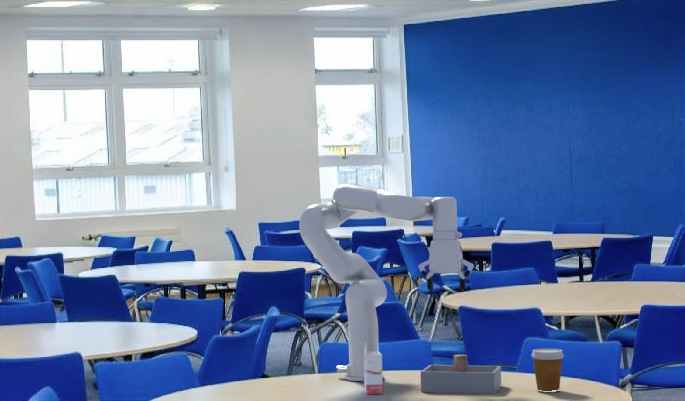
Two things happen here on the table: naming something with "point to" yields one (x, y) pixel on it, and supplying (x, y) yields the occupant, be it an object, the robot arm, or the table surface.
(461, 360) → the peg
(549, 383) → the disposable coffee cup
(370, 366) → the ink cartridge box
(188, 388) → the table surface
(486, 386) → the box
